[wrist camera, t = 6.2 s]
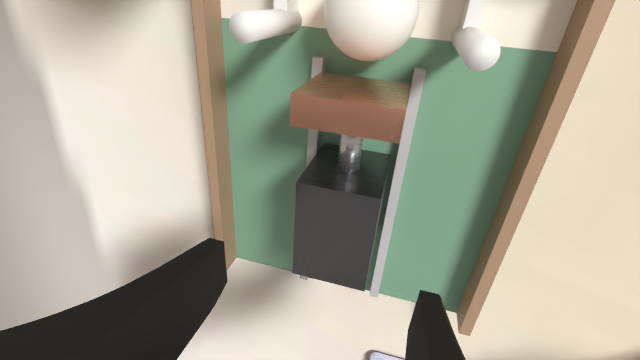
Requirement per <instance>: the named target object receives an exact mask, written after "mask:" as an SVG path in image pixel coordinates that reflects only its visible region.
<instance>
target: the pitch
mask: <svg viewBox="0 0 640 360" xmlns="http://www.w3.org/2000/svg"><path fill="white" fill-rule="evenodd" d="M614 2H615V0H419V15H418V19H417V23H416V26H415V28H414V30H413V32H412V34H411V36H410V38H409V39H408V40H407V42H406V43H405V44H404V45H403V46H402V47H401V48H400V49H399V50H398V51H396V52H395V53H393V54H392V55H390V56H388V57H386V58H383V59H380V60H375V61H361V60H357V59H354V58H351V57H349V56H347V55H346V54H344V53H343V52H342V51H341V50H339V49H338V48H337V47H336V45H335V44H334V43H333V41H332V40H331V38H330V36H329V34H328V32H327V29H326V26H325V20H324V3H325V0H191V7H192V17H193V27H194V37H195V47H196V57H197V67H198V77H199V87H200V97H201V107H202V117H203V127H204V137H205V147H206V157H207V167H208V177H209V187H210V197H211V207H212V217H213V227H214V238H215V239H216V240H220V241H224V247H225V259H226V271H227V269H228V268H229V267H230V265H231V264H232V263H233V261H234V260H235V259H236V257H238V258H242V259H246V260H250V261H254V262H258V263H262V264H266V265H270V266H274V267H278V268H282V269H285V270H289V271H292V270H293V246H294V222H295V199H296V182H297V181H298V179H299V178H300V176H301V175H302V173H303V172H304V171H305V169H306V168H307V166H308V165H309V164H310V162H311V161H312V159H313V158H314V156H315V155H316V154H317V152H318V151H319V149H320V148H321V146H322V145H323V144H324V143H327V144H333V145H338V146H340V137H341V134H337V133H331V132H325V131H319V130H313V129H306V128H300V127H294V126H290V95H291V93H292V92H293V91H294V90H296V89H297V88H299V87H300V86H302V85H303V84H304V83H306V82H307V81H309V80H310V79H312V78H313V77H315V76H316V75H317V74H319V73H320V72H328V73H336V74H343V75H351V76H359V77H367V78H374V79H382V80H390V81H398V82H406V83H411V84H410V90H409V96H408V102H407V108H406V113H405V118H404V123H403V128H402V133H401V138H400V143H399V144H398V143H392V142H386V141H379V140H373V139H367V138H364V140H363V147H362V150H368V151H374V152H379V153H385V154H391V159H390V164H389V169H388V174H387V180H386V185H385V190H384V196H383V201H382V206H381V211H380V217H379V222H378V227H377V233H376V238H375V242H374V247H373V252H372V257H371V262H370V267H369V272H368V276H367V281H366V286H365V290H369V291H370V296H373V297H378V293H380V294H384V295H388V296H392V297H396V298H400V299H404V300H408V301H412V302H417V298H418V295H419V292H420V290H424V291H428V292H432V293H436V294H439V295H440V296H441V298H442V301H443V304H444V307H445V310H448V311H452V312H456V313H457V321H458V331H459V333H460V334H464V335H468V336H470V334H471V332H472V329H473V327H474V325H475V322H476V320H477V318H478V316H479V313H480V311H481V309H482V306H483V304H484V302H485V299H486V297H487V295H488V293H489V290H490V288H491V286H492V283H493V281H494V279H495V276H496V274H497V272H498V270H499V267H500V265H501V263H502V260H503V258H504V256H505V253H506V251H507V249H508V246H509V244H510V242H511V240H512V237H513V235H514V233H515V230H516V228H517V226H518V223H519V221H520V219H521V217H522V214H523V212H524V210H525V207H526V205H527V203H528V200H529V198H530V196H531V193H532V191H533V189H534V187H535V184H536V182H537V180H538V177H539V175H540V173H541V170H542V168H543V166H544V164H545V161H546V159H547V157H548V154H549V152H550V150H551V147H552V145H553V143H554V140H555V138H556V136H557V134H558V131H559V129H560V127H561V124H562V122H563V120H564V117H565V115H566V113H567V111H568V108H569V106H570V104H571V101H572V99H573V97H574V94H575V92H576V90H577V87H578V85H579V83H580V81H581V78H582V76H583V74H584V71H585V69H586V67H587V64H588V62H589V60H590V58H591V55H592V53H593V51H594V48H595V46H596V44H597V41H598V39H599V37H600V34H601V32H602V30H603V28H604V25H605V23H606V21H607V18H608V16H609V14H610V11H611V9H612V7H613V5H614ZM300 278H302V279H306V280H307V279H308V277H306V276H302V275H300Z"/></svg>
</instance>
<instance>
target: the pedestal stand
mask: <svg viewBox="0 0 640 360" xmlns="http://www.w3.org/2000/svg"><path fill="white" fill-rule="evenodd" d="M410 84H411V83H406V82H398V81H390V80H382V79H374V78H367V77H359V76H351V75H343V74H336V73H328V72H320V73H319V74H317V75H316V76H315V77H313V78H312V79H310V80H309V81H307V82H306V83H304V84H303V85H302V86H300V87H299V88H297V89H296V90H294V91H293V92H292V93H291V95H290V126H294V127H300V128H306V129H313V130H319V131H325V132H331V133H337V134H341V137H340V146H338V145H333V144H327V143H324V144H323V145H322V146H321V148H320V149H319V151H318V152H317V154H316V155H315V156H314V158H313V159H312V161H311V162H310V164H309V165H308V166H307V168H306V169H305V171H304V172H303V173H302V175H301V176H300V178H299V179H298V181H297V182H296V199H295V222H294V246H293V270H292V273H294V274H298V275H302V276H306V277H310V278H314V279H318V280H322V281H326V282H330V283H334V284H338V285H342V286H345V287H349V288H353V289H357V290H361V291H365V286H366V281H367V276H368V272H369V267H370V262H371V257H372V252H373V247H374V242H375V238H376V233H377V227H378V222H379V217H380V211H381V206H382V201H383V196H384V190H385V185H386V180H387V174H388V169H389V164H390V159H391V154H385V153H379V152H374V151H368V150H362V147H363V140H364V138H367V139H373V140H379V141H386V142H392V143H398V144H399V143H400V138H401V133H402V128H403V123H404V118H405V113H406V108H407V102H408V96H409V90H410Z"/></svg>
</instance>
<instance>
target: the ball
mask: <svg viewBox="0 0 640 360" xmlns="http://www.w3.org/2000/svg"><path fill="white" fill-rule="evenodd" d="M418 15H419V0H325V3H324V20H325V26H326V29H327V32H328V34H329V36H330V38H331V40H332V41H333V43H334V44H335V45H336V47H337V48H338V49H339V50H341V51H342V52H343V53H344V54H346V55H347V56H349V57H351V58H354V59H357V60H361V61H375V60H380V59H383V58H386V57H388V56H390V55H392V54H393V53H395V52H396V51H398V50H399V49H400V48H401V47H402V46H403V45H404V44H405V43H406V42H407V40H408V39H409V38H410V36H411V34H412V32H413V30H414V28H415V26H416V23H417V19H418Z"/></svg>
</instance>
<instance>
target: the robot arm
mask: <svg viewBox="0 0 640 360" xmlns="http://www.w3.org/2000/svg"><path fill="white" fill-rule="evenodd" d="M226 283H227V271H226V259H225V247H224V241H220V240H216V239H212V238H208V239H207V240H205V241H203V242H201V243H200V244H198V245H196V246H194V247H193V248H191V249H189V250H188V251H186V252H184V253H183V254H181V255H179V256H177V257H176V258H174V259H172V260H171V261H169V262H167V263H165V264H164V265H162V266H160V267H158V268H157V269H155V270H153V271H151V272H149V273H147V274H145V275H143V276H141V277H140V278H138V279H136V280H134V281H132V282H130V283H128V284H126V285H124V286H122V287H120V288H118V289H116V290H114V291H111V292H109V293H107V294H104V295H102V296H100V297H98V298H96V299H93V300H90V301H88V302H85V303H83V304H80V305H78V306H75V307H72V308H70V309H67V310H64V311H62V312H59V313H57V314H53V315H51V316H48V317H45V318H42V319H39V320H36V321H32V322H29V323H26V324H23V325H20V326H16V327H13V328H9V329H6V330H2V331H0V360H177V358H178V357H179V355H180V354H181V353H182V351H183V350H184V348H185V347H186V346H187V344H188V343H189V341H190V340H191V339H192V337H193V336H194V334H195V333H196V332H197V330H198V329H199V327H200V326H201V324H202V323H203V322H204V320H205V319H206V317H207V316H208V314H209V313H210V312H211V310H212V309H213V307H214V306H215V304H216V302H217V300H218V298H219V297H220V295H221V293H222V291H223V289H224V287H225V285H226ZM369 360H403V359H399V358H396V357H392V356H389V355H385V354H382V353H379V352H373V353H371V355H370V359H369ZM405 360H465V357H464V355H463V353H462V351H461V348H460V346H459V344H458V342H457V339H456V337H455V334H454V332H453V329H452V327H451V324H450V322H449V319H448V316H447V313H446V310H445V307H444V304H443V301H442V298H441V296H440V295H439V294H436V293H432V292H428V291H424V290H420V292H419V295H418V298H417V302H416V305H415V308H414V312H413V315H412V319H411V322H410V325H409V329H408V335H407V346H406V357H405Z"/></svg>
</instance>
